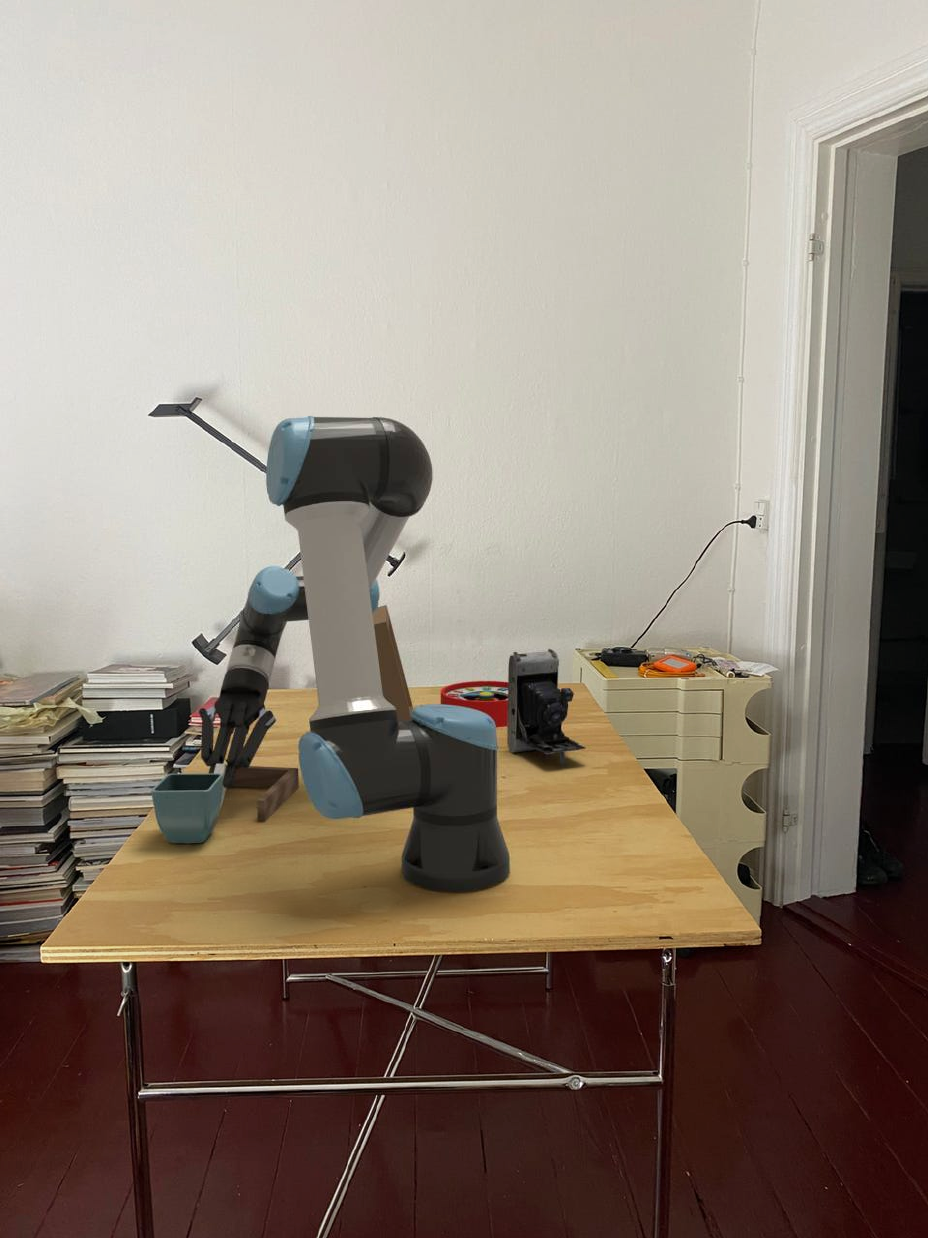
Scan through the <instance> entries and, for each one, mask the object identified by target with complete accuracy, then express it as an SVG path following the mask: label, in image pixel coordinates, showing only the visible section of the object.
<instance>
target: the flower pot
mask: <svg viewBox="0 0 928 1238" xmlns="http://www.w3.org/2000/svg"><path fill="white" fill-rule="evenodd" d="M222 787H223V774H208V773H167V774H166V775H165V776H164V777H163V778H162V779H161V780H160V781H159V782H158V783H157V784H156V785H155V786H154V787H153V788H151V790H150V793H151V799H152V803H153V805H152V806H153V808H154V814H155V819H156V823H157V825H158V827H159V830H160V831H161V833H162V835H164V837H165V839H167V840H168V842H169V843H171V844H201V843H202V844H203V843H204V842H206V840H207V838H208V837H209V836H210V835H211V833H212V832H213V829H214V828H215V825H216V823H217V820H218V817H219V815H220V810H221V809H220V807H221V801H222ZM221 808H222V807H221Z"/></svg>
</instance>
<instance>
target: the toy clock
mask: <svg viewBox="0 0 928 1238" xmlns="http://www.w3.org/2000/svg"><path fill="white" fill-rule="evenodd" d="M440 704H442V705H454V706H461V707H466V708H471V709H475V710H478V711H481V712H483V713H485V714H487V715H489V716H490V717H491V718H492V719H493V720H494V722H495V725H496V728H504V727H507V721H508V681H500V680H475V681H474V680H473V681H462V682H457V683H452V684H449V685H446V686H444V687H442V688H441V689H440Z"/></svg>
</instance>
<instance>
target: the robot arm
mask: <svg viewBox="0 0 928 1238" xmlns="http://www.w3.org/2000/svg"><path fill="white" fill-rule="evenodd" d="M432 465H433V464H432V460H431V457H430V454H429V451H428V449H427V448H426V446H425V444H424V442H423V441H422V440H421V437H419V436H418V435H417V434H416V432H415V431H414V430H413V429H411V428H410V427H409V426H407V425H405V424H404V423H402V422H400V421H397V420H394V419H392V418H388V417H387V418H386V417H382V416H373V417H352V416H351V417H349V416H347V417H344V416H342V417H341V416H339V417H338V416H334V417H333V416H313V415H308V416H307V417H290V418H285V419H283V420H281V421H280V422H279V423H278V424H277V425H276V426H275V428H274V430H273V432H272V435H271V439H270V442H269V446H268V451H267V459H266V470H265V472H266V473H265V474H266V475H265V477H266V478H265V481H266V483H265V484H266V492H267V495H268V500H269V502H270V503H271V504H273V505H276V506H277V507H280V506H282V507H283V513H284V520H285V522H287V523H288V524H290V525H291V526H292V527H293V528H294V529H295V530H296V531H297V534H298V535H297V536H298V543H299V551H300V560H301V568H302V575H298V576H297V575H295V574H294V573H293V572H292V571H291V570H289V569H288V568H284V567H281V566H280V565H279V566H278V565H270V566H267V567H264V568H262V569H261V570H260V571H259V572H257V574H256V575H255V577H254V579H253V581H252V583H251V585H250V587H249V589H248V593H247V598H246V602H245V604H244V607H243V608H242V612H241V614H240V619H239V620H240V621H239V624H238V628H237V631H236V636H235V639H234V643H233V647H232V649H231V652H230V657H229V660H228V664H227V666H226V672H225V674H224V677H223V680H222V683H221V687H220V692H219V693H220V694H219V697H218V698H217V700H216V701H215V702H214V705H213V706H211V707H208V708H207V709H206V708H205V707H201V708H200V709H198V714H199V717H200V719H201V744H200V745H201V746H200V747H201V749H200V758H201V760H202V761H203V763H204V764H205V766H207V767H209V768H208V769H209V770H208V773H207V774H223V787H222V801H221V807H220V810H221V809H222V806H223V802H224V799H225V794H226V791H227V789H231V788H232V785H233V781H234V777H235V774H236V771H237V770H238V769H239V768H242V767H243V768H248V767H249V766H251V763H252V761H253V760H254V757H255V755H256V754H257V752H258V750H259V748H260V746H261V744H262V743H263V740H264V738H265V737H266V734H267V732H268V731H269V730H270V728H271V727H273V726H274V724H275V723H276V722H277V720H276V717H275V715H274V713H273V711H272V710H267V709H266V706H265V701H266V698H267V694H268V690H269V686H270V681H271V679H272V675H273V670H274V666H275V662H276V657H277V656H276V655H277V654H278V649H279V646H280V642H281V640H282V636H283V633H284V630H285V627H286V625H287V622H288V623H289V622H299V621H308V625H309V633H310V642H311V650H312V658H313V667H314V668H313V669H314V676H315V682H316V683H315V684H316V691H317V700H318V706H317V708H316V710H315V711H314V712H313V714H312V715H310V717H309V719H308V721H309V730H310V731H307V732H305V733H304V734H302V735H301V736H300V738H299V740H298V746H297V748H298V752H299V753H298V763H299V769H300V774H301V777H302V781H303V785H304V787H305V790H306V793H307V795H308V797H309V800H310V801H311V803H312V805H313V807H314V808H315V810H317V812H318V813H319V814H320V815H321V816H323V817H324V818H326V819H330V820H339V819H341V820H342V819H348V818H353V819H360V818H362V817H365V816H371V815H377V814H378V815H379V814H382V813H383V814H384V813H390V812H395V811H401V810H408V809H413V813H412V814H413V818H412V822H411V825H410V828H409V831H408V834H407V837H406V841H405V844H404V846H403V850H402V854H401V859H400V860H401V875H402V877H403V878H404V879H405V880H406V881H408V882H409V883H411V885H415V886H416V887H418V888H419V887H420V888H422V889H425V890H431V891H436V892H445V893H446V892H447V893H464V892H472V891H478V890H483V889H486V888H489V887H492V886H496V885H497V884H499V883H501V882H503V881H504V880H506V878H507V877H508V876H509V874H510V872H511V869H510V868H511V866H510V861H511V860H510V853H509V849H508V846H507V843H506V840H505V837H504V834H503V831H502V828H501V825H500V822H499V819H498V750H499V745H498V737H497V727H496V725H495V722H494V720H493V719H492V718H491V717H490V716H489V715H487V714H485V713H483V712H481V711H478V710H475V709H471V708H466V707H461V706H454V705H442V704H441V703H439V704H438V703H435V704H434V703H427V704H421V705H419V706H414V707H413V710H412V713H411V715H410V717H411V719H412V720H410V721H404V722H398V720H397V712H396V707H394V706H393V705H392V704H390V703H389V702H388V701H387V700H385V698H384V697H383V692H382V685H381V677H380V669H379V661H378V654H377V646H376V638H375V630H374V623H373V615H372V613H374V612H375V611H376V609H377V607H379V601H380V595H381V593H380V585H379V582H378V580H377V578H378V576H379V574H380V572H381V570H382V568H384V565H385V564H386V561H387V560H388V558H389V556H390V554H391V552H392V550H393V548H394V546H395V544H396V543H397V541H398V539H399V537H400V536H401V533H402V532H403V529H405V528H404V527H405V526H406V523H407V522H408V520H409V518H410V517H412V516H414V515H416V514H418V513H419V512H420V510H421V509H422V508H423V506H424V505H425V503H426V501H427V499H428V497H429V495H430V492H431V490H432V489H431V488H432V484H433V480H434V479H433V466H432ZM216 715H217V716H218V718H219V720H220V722H219V729H218V733H217V737H216V741H215V742H214V737H215V736H214V733H215V732H214V731H215V729H214V728H215V727H214V722H215V721H216ZM255 721H256V723H255V725H254V726H253V728H252V730H251V732H249V731H250V727H251V726H252V725H253V724H254V722H255ZM249 733H250V734H249ZM248 734H249V735H248ZM247 736H248V737H247ZM231 738H232V739H231ZM246 738H247V740H246ZM229 745H230V747H229ZM228 748H229V750H228ZM227 752H228V754H227ZM226 755H227V758H226ZM225 762H226V763H225ZM226 765H227V766H226Z"/></svg>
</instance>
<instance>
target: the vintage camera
mask: <svg viewBox="0 0 928 1238" xmlns="http://www.w3.org/2000/svg"><path fill="white" fill-rule="evenodd" d="M512 653H513V654H512V655H511V654H510V655H509V658H508V673H507V675H508V676H507V677H508V678H507V680H508V681H507V682H508V721H507V726H506V727H507V728H506V729H507V731H506V732H507V733H506V735H507V736H506V744H507V748H508V751H509V752H510V753H511V754H514V753H523V752H529V751H530V752H531V751H539V752H541V753H543V754H545V755H551V754H552V755H553V754H557V753H559V757H560V767H561V768H566V755H565V753H566V752H572V751H579V750H585V749H586V748H587V747H585V746H583V745H581V744H580V743H579V742H577V741H574V740H572V739H570V737H568V736H566V735H565V733H564V731H563V728H562V726H563V725H562V724H563V723H564V721H565V719H566V718H567V716H568V710H569V702H572V701H573V699H574V696H575V693H574V691H573V690H572V689H571V688H569V687H564V688H559V684H558V683H559V666H560V659H559V657H558V653H557V652H556V651H554V650H553V649H551V648H548V649H547V650H546V651H534V652H525V653H518V652H517V651H514V652H512Z"/></svg>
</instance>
